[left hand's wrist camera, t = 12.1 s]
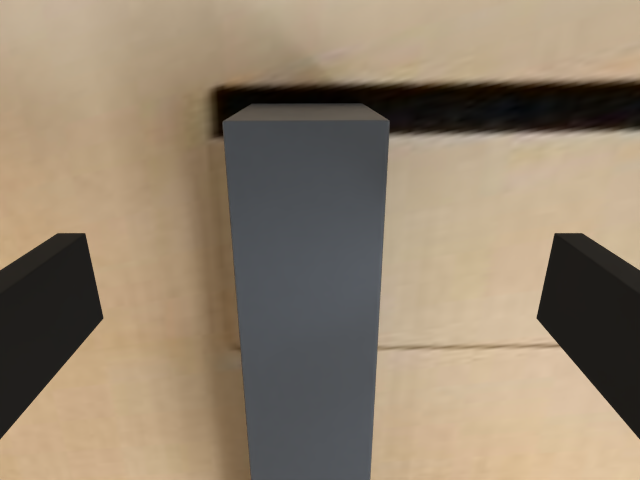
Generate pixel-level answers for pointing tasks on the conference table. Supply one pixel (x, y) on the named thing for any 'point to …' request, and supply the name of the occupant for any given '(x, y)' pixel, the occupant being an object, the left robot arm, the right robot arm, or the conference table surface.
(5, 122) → the conference table surface
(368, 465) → the post
